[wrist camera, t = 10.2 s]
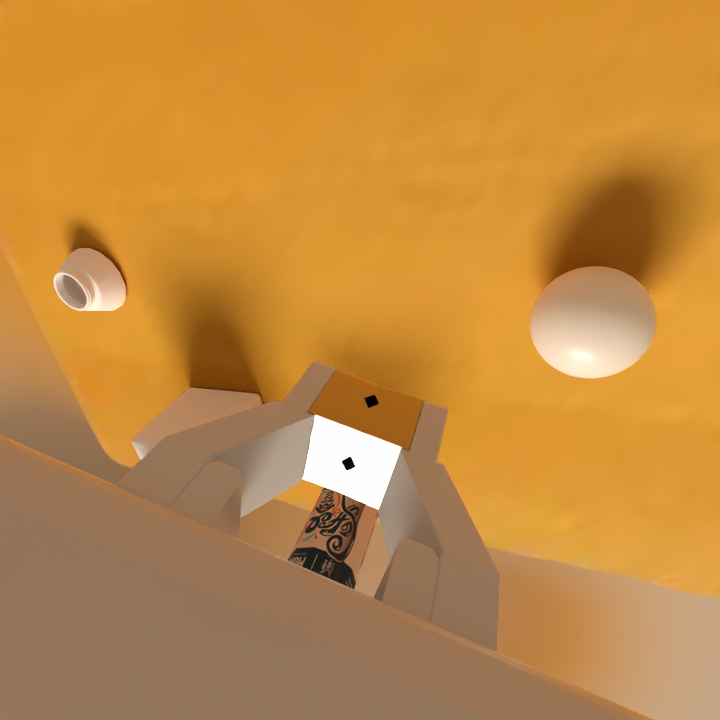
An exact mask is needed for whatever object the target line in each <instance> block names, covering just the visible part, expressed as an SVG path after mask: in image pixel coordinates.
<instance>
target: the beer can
mask: <svg viewBox="0 0 720 720" xmlns="http://www.w3.org/2000/svg"><path fill="white" fill-rule="evenodd" d="M378 515H379V514H378V509H377V508H374V507H372V506H370V505H367V504H365V503H363V502H360V501H358V500H356V499H354V498H351V497H349V496H347V495H344V494H342V493H340V492H337V491H334V490H332V489H329V488H326V487H324V488H323V490H322V492H321V494H320V496H319V498H318V500H317V502H316V504H315V506H314V508H313V510H312V512H311V515H310V516H309V518H308V521H307V522H306V524H305V527H304V529H303V531H302V533H301V535H300V537H299V539H298V541H297V543H296V545H295V547H294V549H293V551H292V553H291V555H290V557H289V559H288V561H290V562H292V563H294V564H297V565H299V566H301V567H304V568H306V569H308V570H310V571H313V572H315V573H317V574H320V575H322V576H324V577H327V578H329V579H331V580H333V581H336V582H338V583H340V584H343V585H345V586H347V587H350V588H352V589H354V587H355V584H356V582H357V579H358V576H359V572H360V569H361V567H362V564H363V560H364V558H365V554H366V551H367V548H368V545H369V542H370V539H371V536H372V533H373V530H374V527H375V524H376V521H377V518H378Z"/></svg>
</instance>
